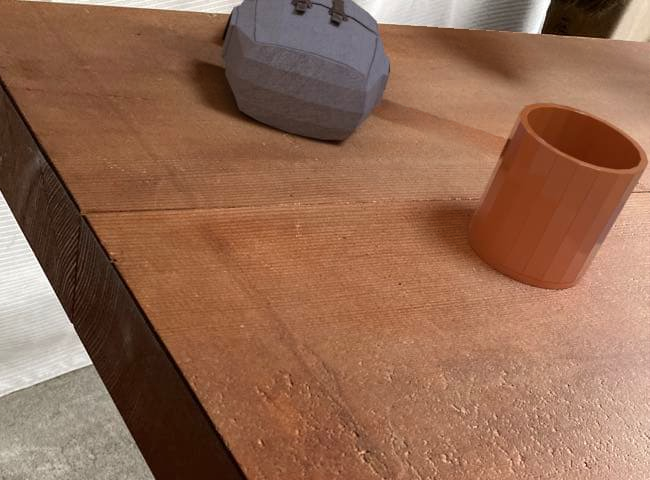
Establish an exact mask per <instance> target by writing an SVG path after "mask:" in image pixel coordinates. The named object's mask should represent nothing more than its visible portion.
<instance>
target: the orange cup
mask: <svg viewBox="0 0 650 480" xmlns="http://www.w3.org/2000/svg"><path fill="white" fill-rule="evenodd" d="M648 165H649V159H648V155H647V152H646V151H645V150H644V148H642V146H641V145H640V144H639V142H638V141H636V140H635V139H634V137H632V136H631V135H629V134H628V133H627V132H626V131H624V130H623V129H621V128H619V127H617V126H616V125H615V124H613V123H612V122H609V121H607V120H606V119H603V118H601V117H599V116H597V115H594V114H593V113H590V112H587V111H584V110H581V109H578V108H576V107H572V106H569V105H564V104H558V103H555V102H554V103H553V102H534V103H530V104H527V105H525V106H524V107H523V108H522V109H521V110H520V111H519V113H518V115H517V117H516V120H515V122H514V124H513V126H512V129H511V130H510V133H509V135H508V137H507V139H506V141H505V144H504V146H503V147H502V150H501V152H500V154H499V157H498V159H497V160H496V163H495V165H494V168H493V169H492V172H491V175H490V177H489V179H488V181H487V183H486V186H485V188H484V189H483V193H482V194H481V196H480V198H479V201H478V203H477V205H476V207H475V209H474V212H473V214H472V217H471V218H470V221H469V224H468V226H467V230H466V237H467V240H468V243H469V244H470V247H471V248H472V250H473V251H474V252H475V253H476V255H478V256H479V258H481V260H483V261H484V262H485V263H486V264H488V265H489V266H490V267H491V268H493V269H495V270H496V271H498V272H500V273H501V274H503V275H504V276H507V277H509V278H511V279H513V280H516V281H518V282H520V283H523V284H526V285H528V286H529V285H530V286H533V287H536V288H541V289H549V290H564V289H569V288H572V287H574V286H576V285H578V284H579V283H580V282H581V281H582V280H583V278H584V277H585V275H586V274H587V272H588V270H589V268H590V266H591V264H592V263H593V261H594V259H595V257H596V255H597V254H598V253H599V251H600V249H601V247H602V245H603V244H604V242H605V240H606V238H607V236H608V235H609V233H610V232H611V230H612V229H613V226H614V224H615V223H616V221H617V219H618V218H619V216H620V214H621V212H622V210H623V208H624V207H625V205H626V204H627V202H628V200H629V198H630V197H631V196H632V193H633V191H634V190H635V188H636V187H637V185H638V182H639V181H640V179H641V177H642V176H643V174H644V173H645V171H646V168H647V166H648Z"/></svg>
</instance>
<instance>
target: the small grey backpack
mask: <svg viewBox="0 0 650 480" xmlns="http://www.w3.org/2000/svg"><path fill="white" fill-rule="evenodd" d="M220 42H223V44H222V49H221V54H220V55H221V56H220V57H221V59H222V60H223V61H224V62H225V71H224V73H225V74H224V75H225V77H226V80H227V82H228V84H229V86H230V89H231V92H232V93H233V95H234V99H235V102H236V104H237V108H238V110H239V111H240V112H243V114H245V115H247V116H249V117H251V118H252V119H254V120H256V121H257V122H259V123H262V124H265V125H268V126H269V127H273V128H276V129H277V130H281V131H283V132H286V133H289V134H292V135H293V134H294V135H298V136H303V137H307V138H313V139H318V140H325V141H326V140H327V141H328V140H329V141H344V140H345V139H347V138H348V137H349V136H350V135H351V134H353V133H354V132H355V131H356V130H357V129H358V128H359V127H360V126H361V125H362V124H363V123H364V122H365V121H366V120H367V119H369V118H370V115H371V113H372V111H373V109H374V108H375V107H378V106H380V105H381V102H382V98H383V95H384V92H385V90H386V88H387V84H388V80H389V77H390V73H391V59H390V56H389V55H387V54H386V53H385V47H384V41H383V38H382V37H381V34H380V30H379V25H378V21H377V20H376V19H375V17H373V16H372V15H371V14H370V12H368V11H367V10H365V9H364V8H363V7H361V6H360V5H359V4H358V3H356V2H355V1H354V0H242V1H241V3H240V4H238V5H236V6H233V7H232V10H231V12H230V14H229V17H228V18H227V22H226V25H225V28H224V31H223V34H222V37H221V40H220Z"/></svg>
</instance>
